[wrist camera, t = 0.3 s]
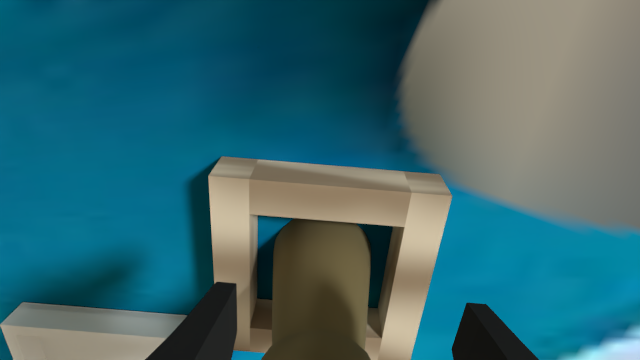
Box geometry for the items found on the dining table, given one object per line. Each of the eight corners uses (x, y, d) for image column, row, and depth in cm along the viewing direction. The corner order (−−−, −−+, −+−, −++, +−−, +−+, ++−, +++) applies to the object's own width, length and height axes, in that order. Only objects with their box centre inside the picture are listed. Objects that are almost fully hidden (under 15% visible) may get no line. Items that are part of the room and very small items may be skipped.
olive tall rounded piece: (261, 275, 25) (213, 464, 15) (291, 198, 22) (257, 363, 12) (349, 302, 26) (359, 499, 16) (387, 230, 23) (428, 410, 13)
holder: (402, 332, 27) (409, 364, 24) (227, 318, 26) (217, 348, 24) (439, 174, 21) (452, 196, 19) (221, 156, 21) (208, 175, 19)
